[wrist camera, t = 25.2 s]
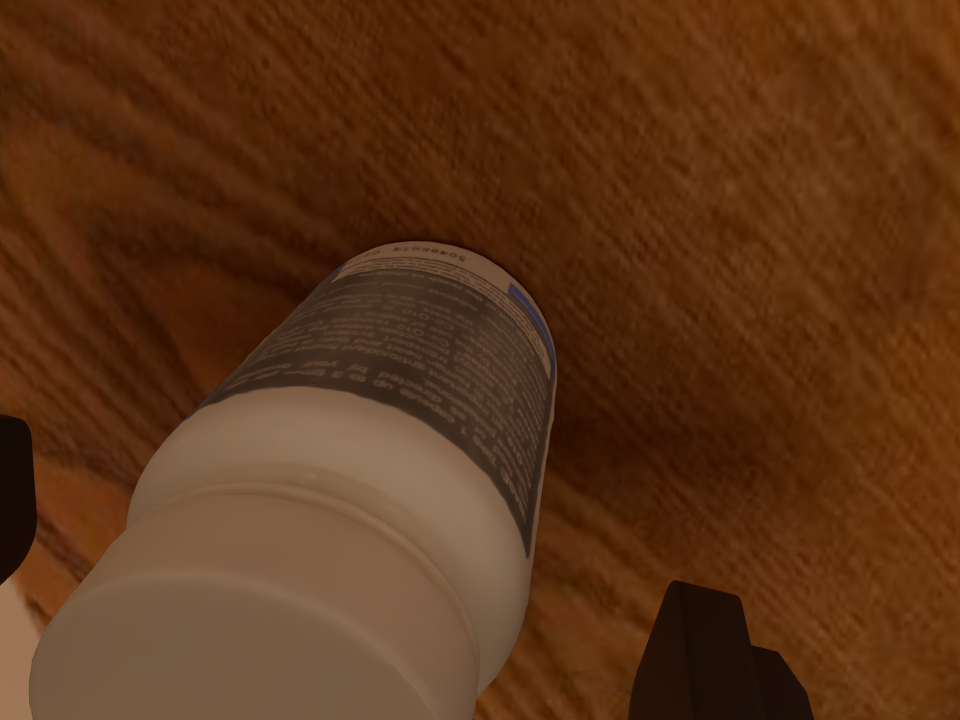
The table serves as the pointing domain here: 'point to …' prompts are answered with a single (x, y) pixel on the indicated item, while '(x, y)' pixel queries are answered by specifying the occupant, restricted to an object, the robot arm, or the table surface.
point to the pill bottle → (330, 515)
